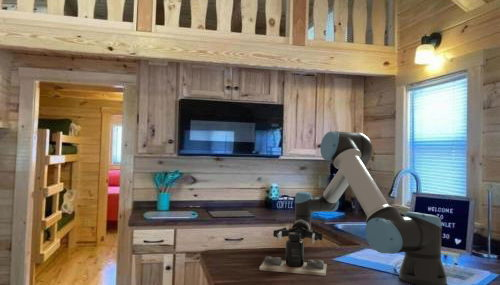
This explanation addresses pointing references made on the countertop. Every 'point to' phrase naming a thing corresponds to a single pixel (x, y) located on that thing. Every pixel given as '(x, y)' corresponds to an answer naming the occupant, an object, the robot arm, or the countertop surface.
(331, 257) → the countertop surface
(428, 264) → the robot arm
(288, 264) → the supplement bottle
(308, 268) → the cream base tray
